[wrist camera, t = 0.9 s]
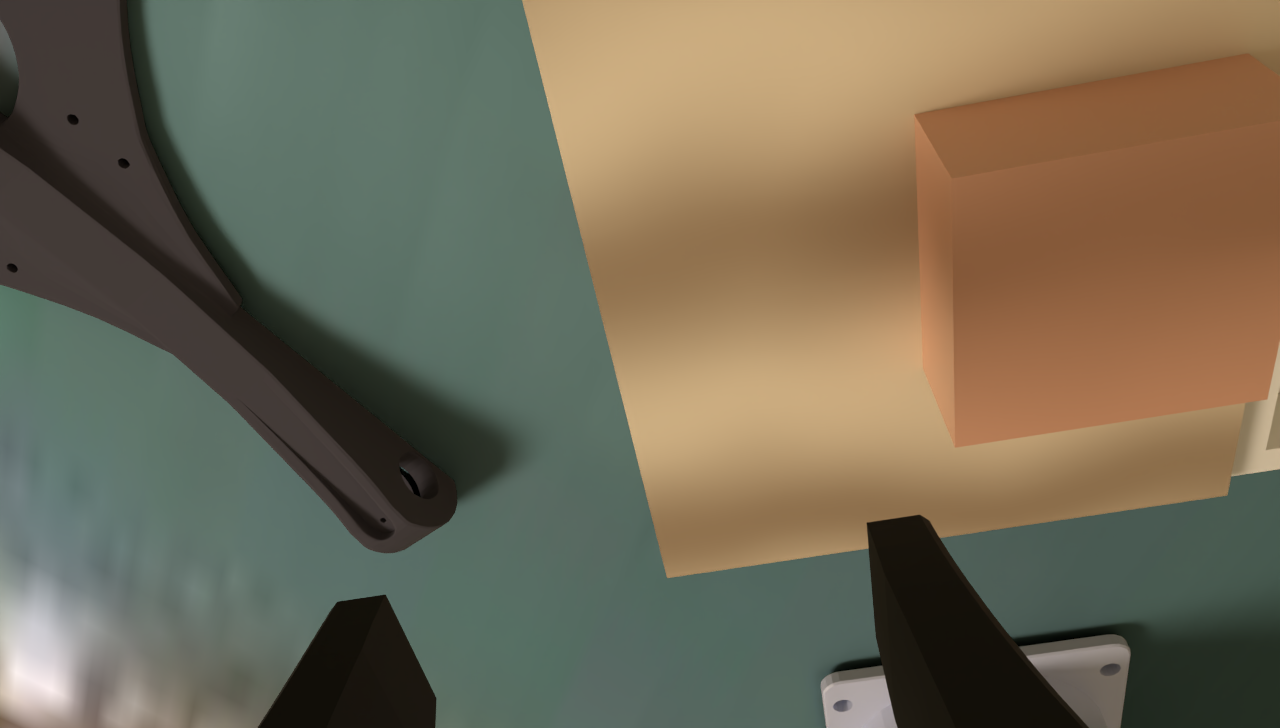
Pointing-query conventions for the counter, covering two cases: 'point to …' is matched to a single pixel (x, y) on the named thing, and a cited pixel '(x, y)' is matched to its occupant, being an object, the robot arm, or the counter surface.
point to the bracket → (173, 269)
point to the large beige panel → (830, 257)
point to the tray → (1260, 432)
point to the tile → (1101, 250)
